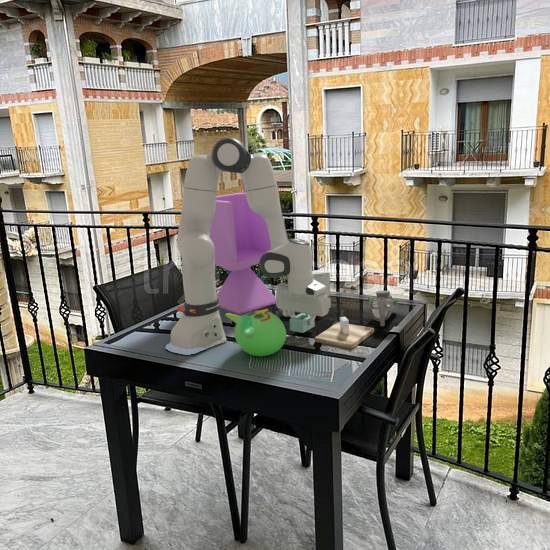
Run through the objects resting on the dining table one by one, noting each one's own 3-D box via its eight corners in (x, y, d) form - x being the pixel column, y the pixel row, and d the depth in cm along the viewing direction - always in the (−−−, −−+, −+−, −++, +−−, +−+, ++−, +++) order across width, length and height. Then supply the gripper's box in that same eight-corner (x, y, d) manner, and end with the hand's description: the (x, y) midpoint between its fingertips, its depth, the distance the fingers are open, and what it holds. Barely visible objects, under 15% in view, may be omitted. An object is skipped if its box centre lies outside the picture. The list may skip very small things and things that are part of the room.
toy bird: (297, 355, 171) (294, 311, 167) (249, 370, 163) (245, 324, 159) (269, 338, 186) (266, 298, 182) (225, 351, 178) (220, 309, 174)
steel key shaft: (349, 334, 180) (348, 320, 179) (343, 335, 180) (342, 321, 179) (345, 330, 184) (345, 316, 183) (340, 331, 184) (339, 317, 182)
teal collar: (303, 332, 184) (302, 321, 183) (290, 330, 187) (289, 318, 186) (314, 326, 190) (314, 314, 188) (302, 323, 193) (301, 312, 192)
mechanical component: (370, 322, 194) (369, 296, 191) (398, 325, 189) (397, 298, 186) (367, 325, 191) (366, 298, 189) (395, 328, 186) (394, 301, 183)
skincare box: (312, 311, 210) (309, 274, 206) (307, 306, 216) (304, 271, 212) (332, 307, 212) (330, 271, 208) (326, 303, 218) (324, 268, 214)
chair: (236, 317, 210) (225, 202, 198) (208, 304, 228) (196, 199, 216) (282, 303, 223) (274, 194, 211) (251, 292, 240) (242, 191, 228)
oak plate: (352, 349, 172) (352, 344, 172) (315, 341, 180) (314, 337, 180) (374, 332, 185) (373, 328, 184) (338, 326, 193) (338, 322, 192)
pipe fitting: (389, 322, 191) (388, 294, 190) (368, 321, 196) (367, 293, 194) (402, 315, 201) (401, 288, 199) (382, 314, 205) (381, 288, 204)
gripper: (271, 284, 188) (273, 321, 192) (320, 292, 176) (322, 331, 180) (281, 279, 193) (283, 316, 197) (330, 287, 181) (331, 325, 184)
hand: (302, 323), depth 188 cm, fingers closed on teal collar, 5 cm apart
